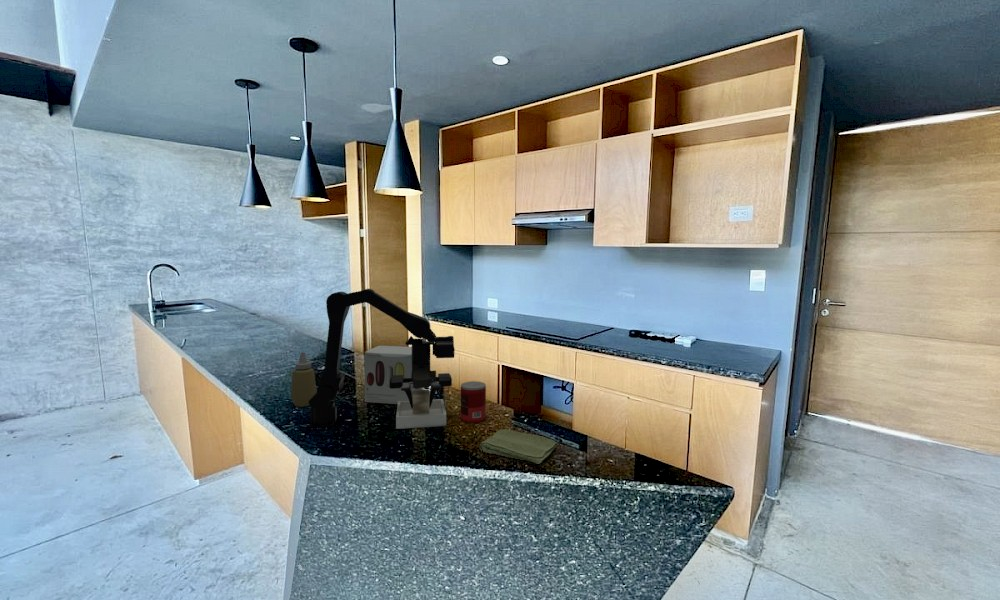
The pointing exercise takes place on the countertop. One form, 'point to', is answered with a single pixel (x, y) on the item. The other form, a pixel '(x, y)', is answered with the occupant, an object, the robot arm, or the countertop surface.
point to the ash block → (421, 401)
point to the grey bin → (420, 415)
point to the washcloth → (518, 445)
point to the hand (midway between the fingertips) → (420, 407)
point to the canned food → (473, 401)
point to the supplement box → (386, 373)
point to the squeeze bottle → (303, 382)
